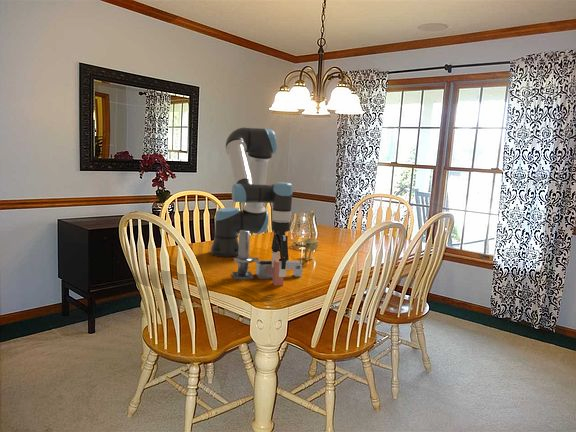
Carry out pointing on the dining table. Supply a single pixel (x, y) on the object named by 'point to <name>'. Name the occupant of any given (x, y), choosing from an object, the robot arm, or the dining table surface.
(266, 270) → the bracket
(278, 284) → the wedge pin
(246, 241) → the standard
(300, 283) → the dining table surface
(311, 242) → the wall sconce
